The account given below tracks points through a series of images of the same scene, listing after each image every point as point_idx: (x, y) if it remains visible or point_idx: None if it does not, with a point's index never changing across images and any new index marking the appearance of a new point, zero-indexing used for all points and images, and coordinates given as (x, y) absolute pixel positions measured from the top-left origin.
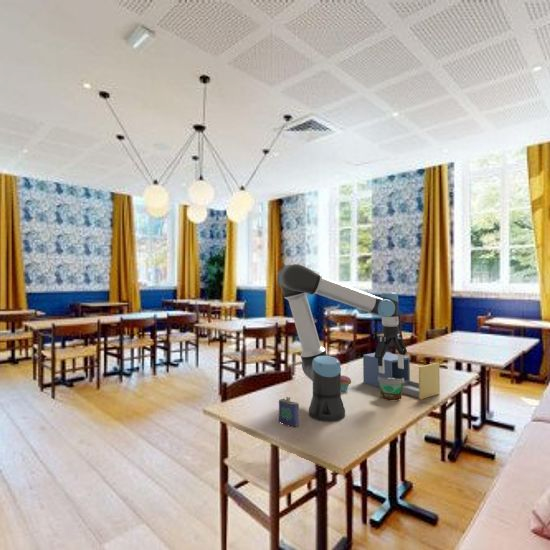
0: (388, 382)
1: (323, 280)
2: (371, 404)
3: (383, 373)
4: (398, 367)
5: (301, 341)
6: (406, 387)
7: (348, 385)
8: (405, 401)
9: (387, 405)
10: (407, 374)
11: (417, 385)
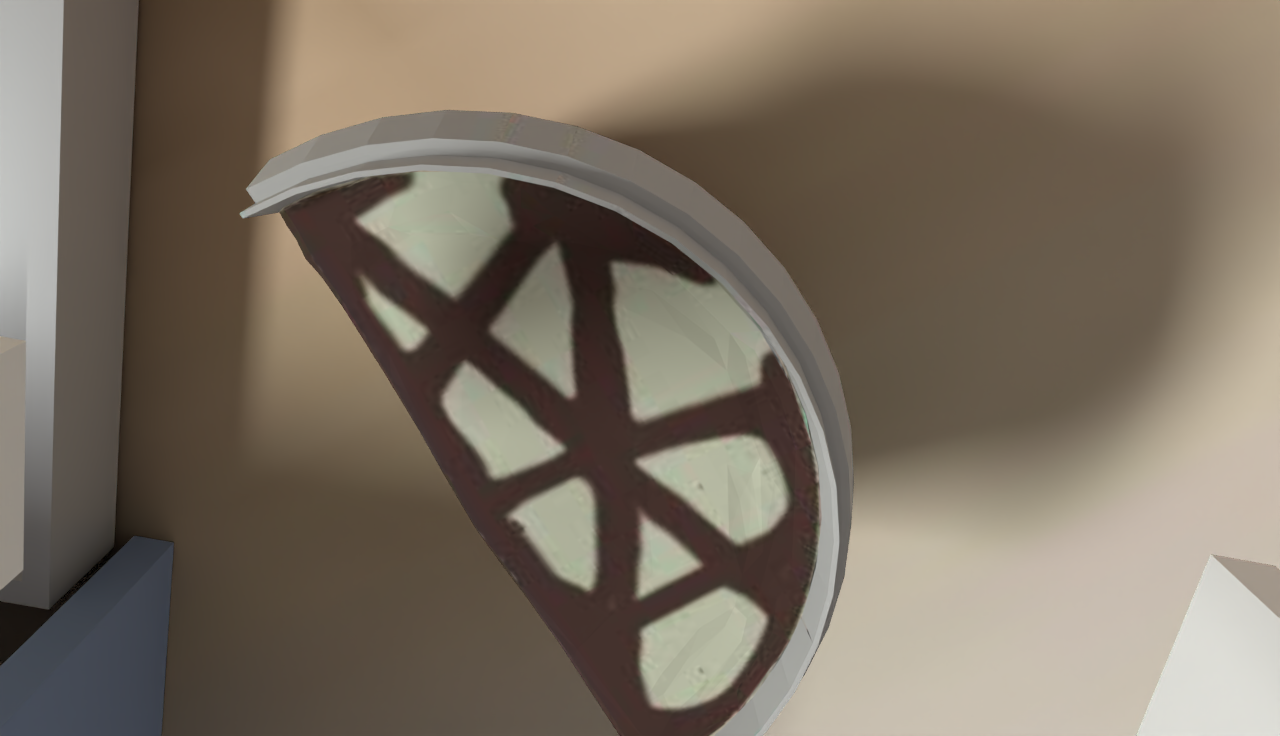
0: (839, 397)
1: None
2: (1172, 405)
3: (1275, 566)
4: (15, 558)
5: None
6: (32, 252)
7: None
8: (566, 8)
9: (1043, 160)
10: None
11: None
